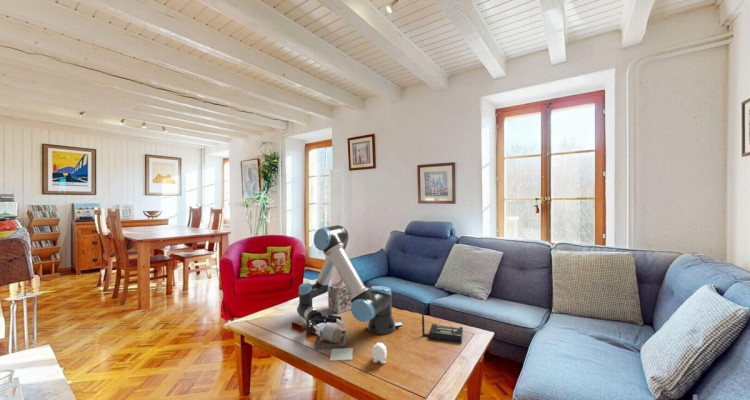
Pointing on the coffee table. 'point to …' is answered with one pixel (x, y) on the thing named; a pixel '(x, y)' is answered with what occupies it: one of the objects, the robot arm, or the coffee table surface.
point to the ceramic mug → (332, 333)
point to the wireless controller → (443, 332)
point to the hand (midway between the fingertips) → (331, 329)
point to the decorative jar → (339, 297)
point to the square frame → (331, 345)
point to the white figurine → (379, 353)
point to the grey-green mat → (341, 354)
